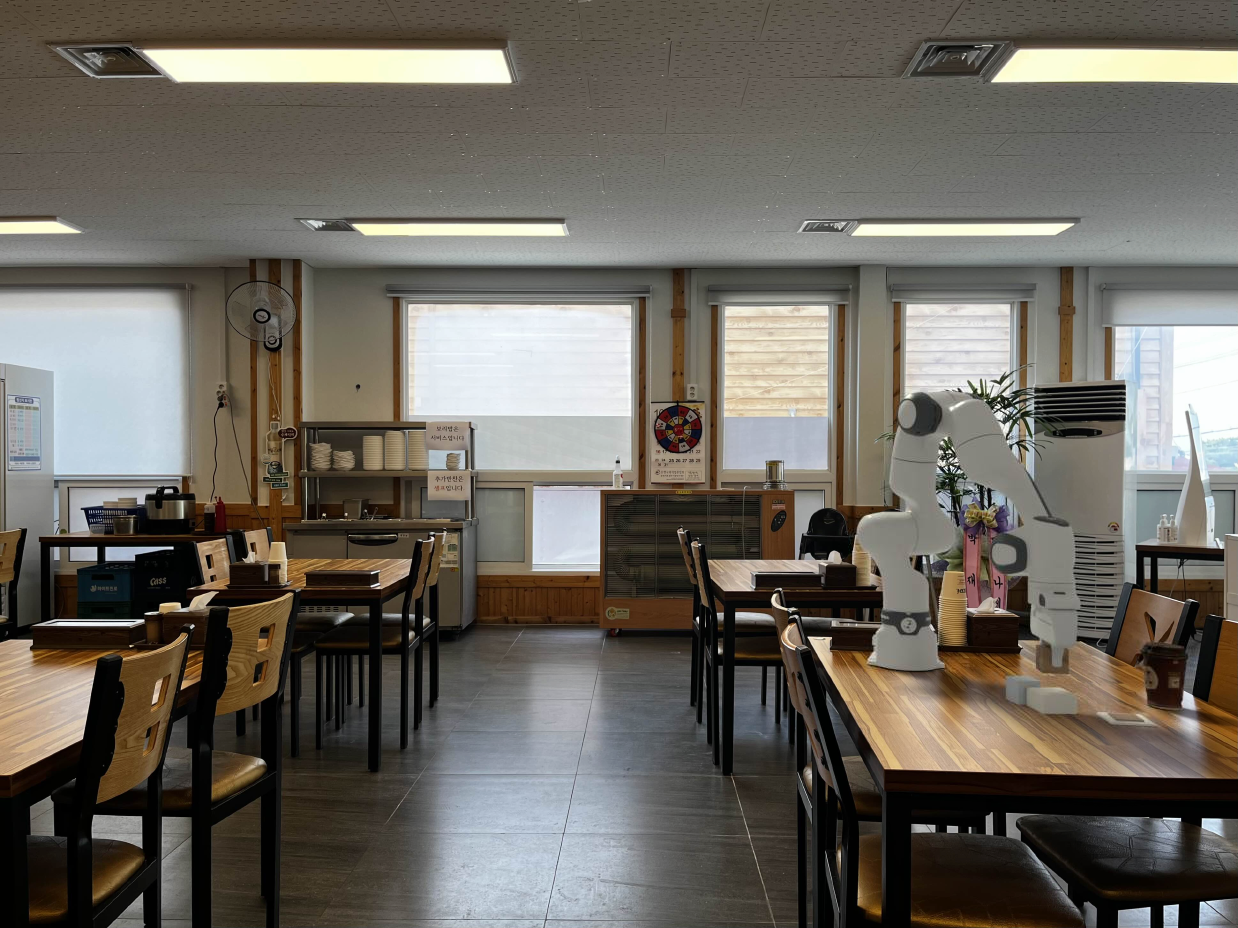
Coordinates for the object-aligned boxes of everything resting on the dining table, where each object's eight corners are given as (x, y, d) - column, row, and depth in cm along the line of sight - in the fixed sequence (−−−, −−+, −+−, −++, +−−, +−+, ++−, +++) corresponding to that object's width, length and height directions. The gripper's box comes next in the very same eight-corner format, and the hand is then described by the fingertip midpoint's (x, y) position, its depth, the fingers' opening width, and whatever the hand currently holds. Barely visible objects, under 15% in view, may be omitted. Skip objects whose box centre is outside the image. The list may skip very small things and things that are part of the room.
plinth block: (1026, 706, 190) (1026, 687, 190) (1059, 706, 190) (1059, 687, 190) (1042, 714, 183) (1043, 694, 183) (1077, 715, 183) (1077, 695, 183)
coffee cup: (1144, 709, 187) (1143, 645, 187) (1136, 700, 195) (1136, 639, 195) (1193, 713, 184) (1192, 649, 184) (1183, 704, 192) (1182, 642, 192)
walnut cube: (1035, 668, 189) (1035, 644, 189) (1061, 669, 188) (1061, 645, 188) (1042, 673, 184) (1042, 648, 184) (1068, 674, 183) (1068, 649, 183)
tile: (1096, 713, 183) (1096, 710, 183) (1140, 716, 181) (1140, 712, 181) (1110, 723, 175) (1110, 720, 175) (1155, 726, 173) (1155, 722, 173)
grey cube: (1006, 699, 195) (1006, 675, 195) (1028, 699, 196) (1028, 675, 196) (1018, 704, 190) (1018, 680, 190) (1041, 704, 191) (1040, 680, 191)
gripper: (1022, 589, 197) (1022, 653, 197) (1048, 600, 177) (1048, 672, 177) (1053, 590, 196) (1054, 655, 196) (1083, 601, 176) (1083, 673, 176)
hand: (1051, 663), depth 186 cm, fingers closed on walnut cube, 5 cm apart
